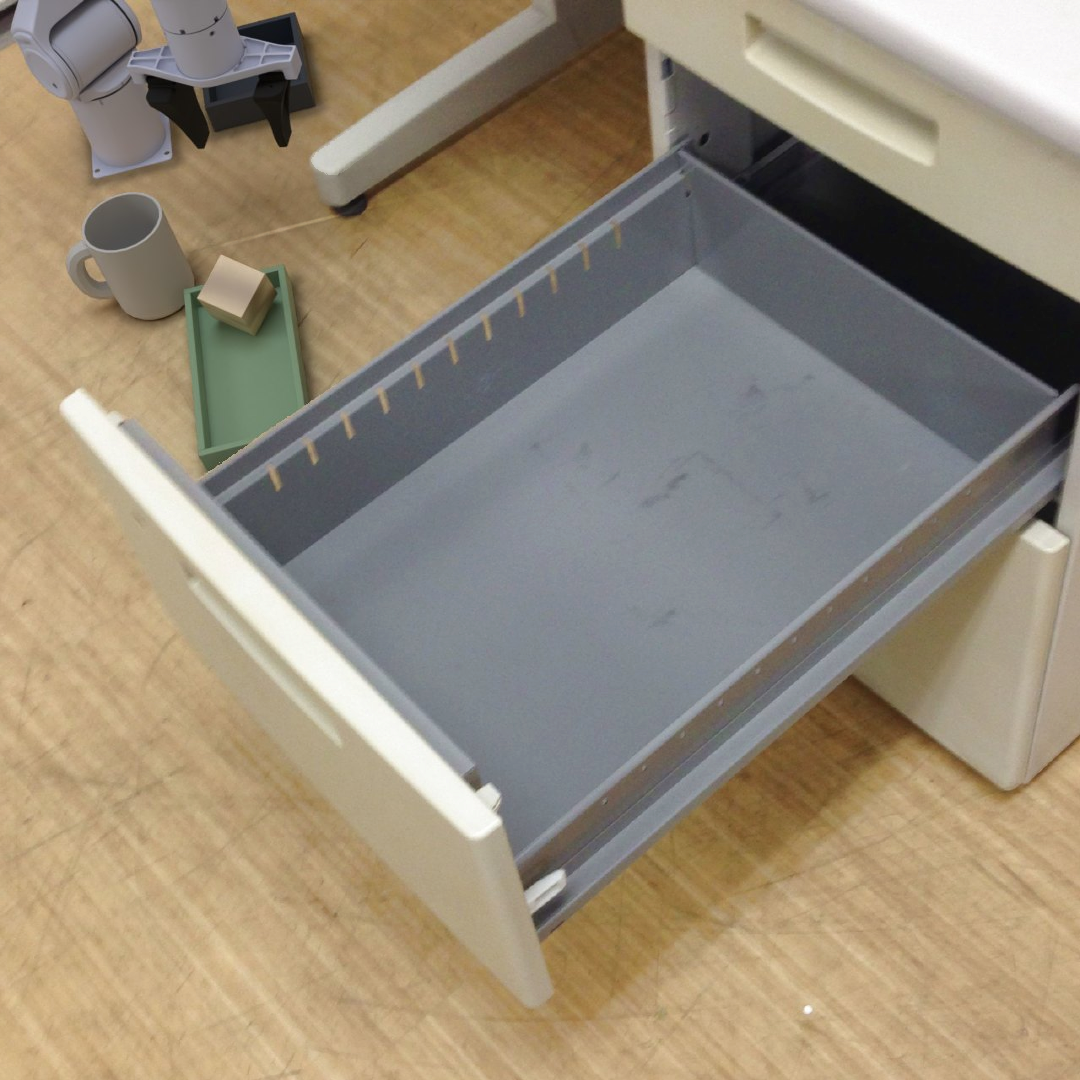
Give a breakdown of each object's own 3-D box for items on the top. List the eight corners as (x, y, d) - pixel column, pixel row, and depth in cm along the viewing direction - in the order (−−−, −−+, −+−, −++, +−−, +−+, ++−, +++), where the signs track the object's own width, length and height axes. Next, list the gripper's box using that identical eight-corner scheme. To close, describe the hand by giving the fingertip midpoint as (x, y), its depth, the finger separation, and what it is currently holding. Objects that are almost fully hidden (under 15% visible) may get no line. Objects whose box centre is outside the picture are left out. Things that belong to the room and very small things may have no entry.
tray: (192, 308, 136) (183, 289, 134) (291, 283, 136) (283, 263, 134) (208, 474, 126) (198, 456, 124) (316, 446, 126) (307, 428, 123)
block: (234, 274, 134) (220, 253, 130) (278, 293, 133) (265, 273, 129) (211, 317, 133) (196, 298, 129) (255, 336, 133) (241, 318, 128)
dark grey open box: (207, 64, 155) (196, 36, 152) (304, 40, 155) (294, 11, 152) (216, 135, 149) (204, 108, 146) (317, 110, 149) (307, 81, 146)
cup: (201, 308, 136) (166, 237, 129) (94, 340, 136) (53, 272, 129) (191, 253, 140) (157, 182, 133) (87, 285, 140) (47, 215, 133)
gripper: (289, -24, 123) (332, 106, 134) (123, -17, 126) (179, 110, 137) (269, 33, 119) (315, 163, 131) (99, 39, 122) (158, 166, 133)
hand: (244, 140), depth 134 cm, fingers open, 7 cm apart
